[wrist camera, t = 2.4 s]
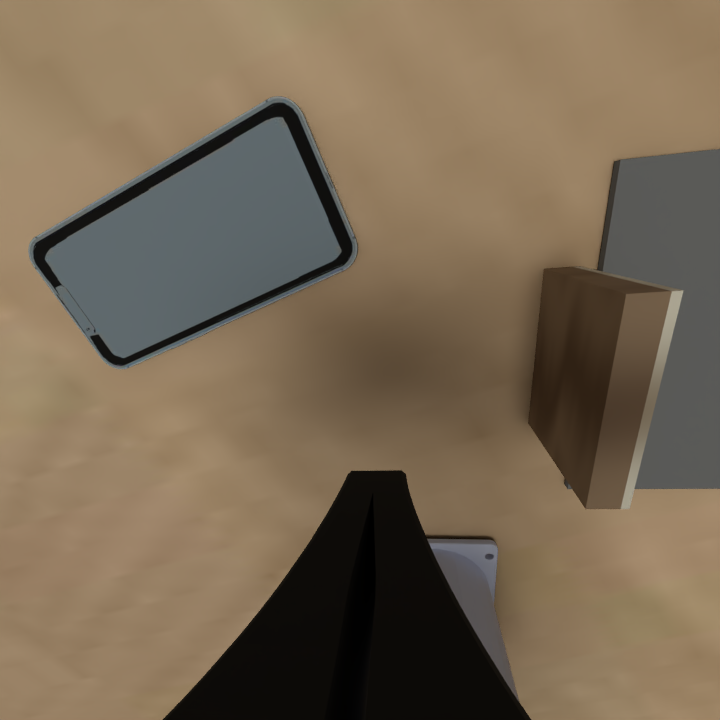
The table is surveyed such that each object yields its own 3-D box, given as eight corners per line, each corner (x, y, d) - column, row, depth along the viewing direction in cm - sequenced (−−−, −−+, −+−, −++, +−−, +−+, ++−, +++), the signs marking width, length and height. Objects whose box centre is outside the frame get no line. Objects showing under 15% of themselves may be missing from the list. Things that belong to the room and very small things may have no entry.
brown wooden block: (557, 421, 18) (629, 508, 13) (527, 422, 18) (585, 508, 13) (579, 266, 15) (683, 290, 10) (543, 268, 16) (626, 294, 10)
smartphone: (365, 262, 16) (113, 375, 19) (366, 260, 17) (125, 369, 20) (289, 83, 14) (17, 245, 17) (295, 92, 14) (36, 244, 18)
